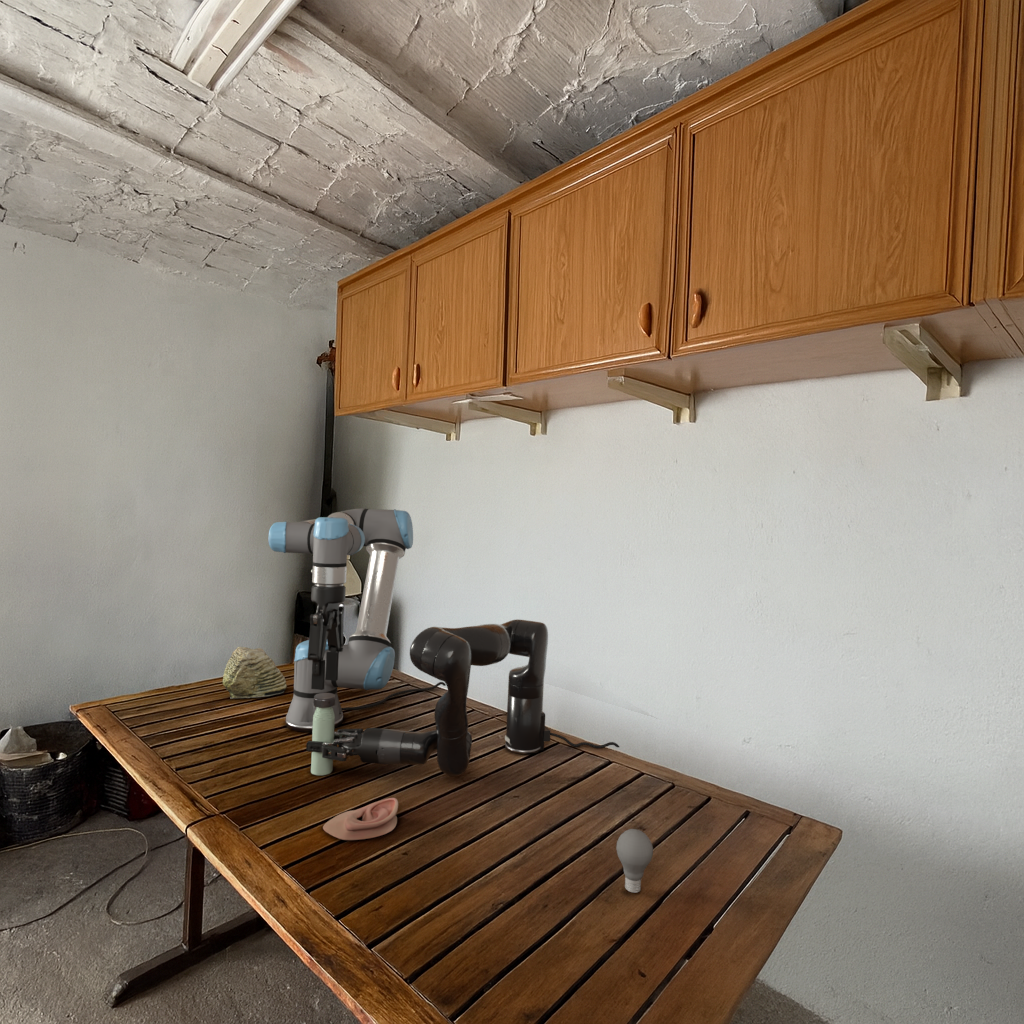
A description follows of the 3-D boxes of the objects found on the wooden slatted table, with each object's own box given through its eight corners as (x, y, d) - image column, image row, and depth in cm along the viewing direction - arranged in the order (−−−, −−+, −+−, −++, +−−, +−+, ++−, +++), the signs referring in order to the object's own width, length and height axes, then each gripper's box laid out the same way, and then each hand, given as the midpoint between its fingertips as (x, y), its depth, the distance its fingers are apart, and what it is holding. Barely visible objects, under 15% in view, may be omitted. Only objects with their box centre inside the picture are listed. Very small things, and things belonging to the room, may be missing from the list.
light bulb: (610, 879, 108) (613, 822, 108) (644, 879, 109) (647, 822, 109) (619, 902, 102) (622, 840, 102) (655, 901, 103) (658, 840, 103)
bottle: (306, 773, 145) (309, 698, 144) (320, 765, 149) (322, 693, 149) (323, 777, 143) (326, 702, 143) (336, 769, 148) (339, 696, 147)
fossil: (218, 695, 195) (220, 647, 195) (278, 685, 208) (279, 640, 207) (228, 703, 189) (230, 653, 188) (289, 692, 201) (290, 645, 201)
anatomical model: (315, 814, 118) (343, 787, 129) (314, 835, 118) (343, 807, 129) (382, 825, 115) (405, 796, 127) (381, 846, 116) (404, 816, 127)
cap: (309, 705, 145) (309, 697, 144) (322, 700, 149) (322, 691, 149) (326, 709, 143) (326, 700, 143) (339, 703, 147) (339, 694, 147)
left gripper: (330, 578, 156) (327, 672, 156) (293, 588, 136) (288, 695, 136) (360, 580, 155) (356, 674, 155) (326, 591, 135) (322, 698, 135)
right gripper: (392, 719, 152) (322, 714, 153) (376, 741, 138) (299, 736, 139) (391, 750, 152) (321, 745, 153) (374, 776, 138) (298, 770, 139)
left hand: (324, 684), depth 146 cm, fingers open, 7 cm apart
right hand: (311, 741), depth 146 cm, fingers closed on bottle, 4 cm apart
